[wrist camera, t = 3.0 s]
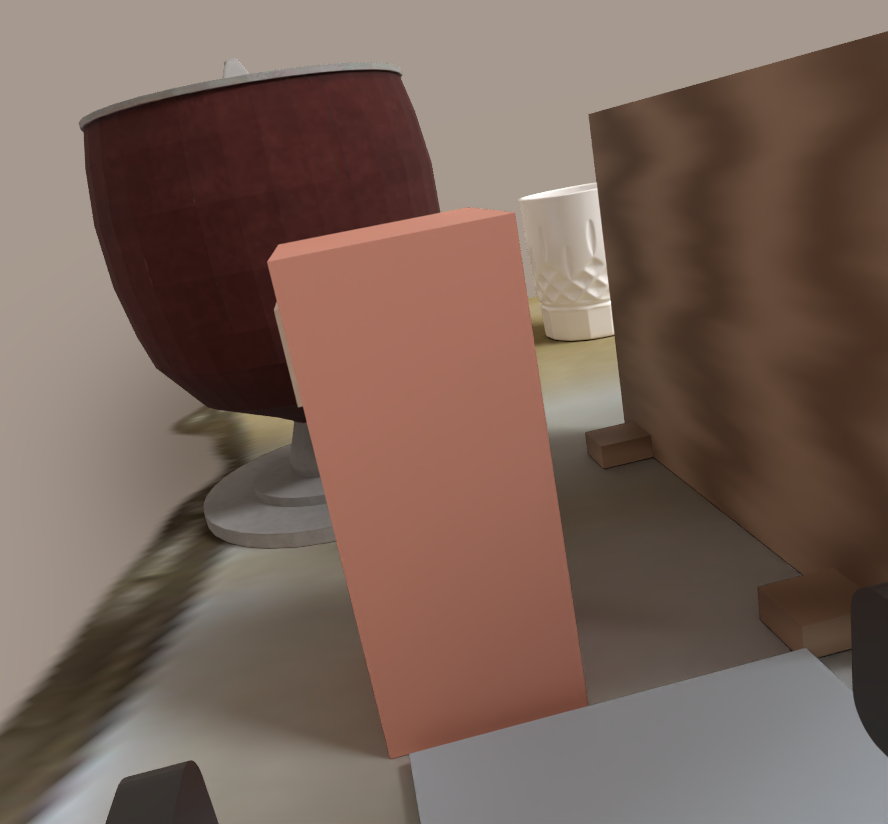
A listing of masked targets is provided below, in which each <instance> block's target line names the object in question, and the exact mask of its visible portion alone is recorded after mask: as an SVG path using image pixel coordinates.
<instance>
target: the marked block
mask: <svg viewBox="0 0 888 824" xmlns="http://www.w3.org/2000/svg"><path fill="white" fill-rule="evenodd" d="M267 263H268V267H269V271H270V276H271V280H272V284H273V288H274V292H275V296H276V300H277V302H276V305H275V308H274V313H275V317H276V321H277V325H278V329H279V333H280V337H281V341H282V345H283V349H284V353H285V357H286V361H287V365H288V369H289V373H290V377H291V381H292V385H293V389H294V393H295V397H296V401H297V405H298V407H302V406H303V409H304V413H305V417H306V421H307V425H308V429H309V433H310V437H311V441H312V445H313V449H314V453H315V457H316V461H317V465H318V469H319V473H320V477H321V481H322V485H323V489H324V493H325V497H326V501H327V506H328V510H329V514H330V518H331V522H332V526H333V530H334V534H335V538H336V542H337V546H338V550H339V554H340V558H341V562H342V566H343V570H344V574H345V578H346V582H347V586H348V590H349V594H350V598H351V602H352V606H353V610H354V614H355V619H356V623H357V627H358V631H359V635H360V639H361V643H362V647H363V651H364V655H365V659H366V663H367V667H368V671H369V675H370V679H371V683H372V687H373V691H374V695H375V699H376V703H377V707H378V711H379V715H380V719H381V723H382V727H383V731H384V736H385V740H386V744H387V748H388V752H389V756H390V759H392V758H396V757H400V756H404V755H407V754H410V753H414V752H418V751H422V750H425V749H429V748H433V747H437V746H440V745H444V744H448V743H452V742H455V741H459V740H463V739H467V738H470V737H474V736H478V735H481V734H485V733H489V732H493V731H496V730H500V729H504V728H508V727H511V726H515V725H519V724H523V723H526V722H530V721H534V720H538V719H541V718H545V717H549V716H553V715H556V714H560V713H564V712H567V711H571V710H575V709H579V708H582V707H586V706H589V705H588V699H587V692H586V685H585V679H584V672H583V665H582V659H581V652H580V645H579V638H578V632H577V625H576V618H575V612H574V605H573V598H572V592H571V585H570V578H569V571H568V565H567V558H566V551H565V545H564V538H563V531H562V525H561V518H560V511H559V504H558V498H557V491H556V484H555V478H554V471H553V464H552V458H551V451H550V444H549V437H548V431H547V424H546V417H545V411H544V404H543V397H542V391H541V384H540V377H539V370H538V364H537V357H536V350H535V344H534V337H533V330H532V324H531V317H530V310H529V303H528V297H527V290H526V284H525V277H524V270H523V263H522V257H521V250H520V243H519V236H518V230H517V224H516V216H515V213H514V212H505V211H496V210H488V209H479V208H470V207H467V208H462V209H457V210H452V211H447V212H442V213H437V214H431V215H426V216H421V217H416V218H411V219H406V220H401V221H396V222H391V223H386V224H381V225H376V226H370V227H365V228H360V229H355V230H350V231H345V232H340V233H335V234H330V235H325V236H320V237H315V238H309V239H304V240H299V241H294V242H289V243H284V244H279V245H278V246H277V248H276V249H275V251H274V252H273V254H272V255H271V257H270V258H269V260H268V261H267Z"/></svg>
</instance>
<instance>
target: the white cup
mask: <svg viewBox="0 0 888 824" xmlns="http://www.w3.org/2000/svg"><path fill="white" fill-rule="evenodd" d="M518 203H519V208H520V213H521V218H522V224H523V229H524V234H525V240H526V245H527V250H528V256H529V261H530V265H531V269H532V274H533V278H534V284H535V288H536V293H537V297H538V299H539V301H540V303H541V311H542V317H543V322H544V328H545V333H546V336H547V337H550V338H552V339H554V340H566V341H574V340H587V339H595V338H601V337H602V338H604V337H606V336H611V335H614V327H613V318H612V310H611V301H610V293H609V284H608V276H607V267H606V259H605V250H604V241H603V233H602V224H601V216H600V207H599V199H598V190H597V182H596V183H590V184H584V185H578V186H572V187H567V188H561V189H557V190H551V191H547V192H542V193H538V194H534V195H530V196H526V197H523V198H520V199H518Z"/></svg>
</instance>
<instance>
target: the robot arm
mask: <svg viewBox="0 0 888 824" xmlns="http://www.w3.org/2000/svg"><path fill="white" fill-rule="evenodd" d="M851 643H852V680H853V698H854V703H855V707H856V710H857V713H858V715H859V718H860V720H861V722H862V724H863V726H864V728H865V730H866V732H867V733H868V735H869V736H870V738H871V739H872V741H873V742H874V743H875V745H876V746H877V747H878V748H879V749H880V750H881V751H882V752H883V753H884V754H885V755H886V756H887V757H888V581H886V582H883V583H879V584H875V585H871V586H867V587H863V588H860V589H858V590H856V592H855V593H854V594H853V596H852V600H851ZM105 824H218V821H217V818H216V815H215V812H214V809H213V806H212V803H211V800H210V797H209V794H208V791H207V788H206V785H205V782H204V779H203V777H202V774H201V771H200V769H199V767H198V766H197V764H196V763H195V762H194V761H187V762H183V763H179V764H175V765H171V766H167V767H164V768H160V769H156V770H152V771H148V772H144V773H141V774H137V775H133V776H129V777H126V778H124V779H123V780H121V782H120V784H119V785H118V788H117V790H116V793H115V796H114V799H113V802H112V805H111V808H110V811H109V814H108V817H107V820H106V823H105Z"/></svg>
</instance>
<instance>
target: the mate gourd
mask: <svg viewBox="0 0 888 824" xmlns="http://www.w3.org/2000/svg"><path fill="white" fill-rule="evenodd" d="M401 76H402V72H401V69H400V68H399V67H398V66H396V65H392V64H388V63H372V62H370V63H341V64H328V65H316V66H307V67H298V68H289V69H281V70H274V71H267V72H260V73H253V74H249V72H248V71H247V70H246V69H245V68H244V66H242V64H241V63H240V62H239V61H238V60H237V59H235V58H230V59H227V60H226V61H225V62H224V72H223V79H219V80H213V81H207V82H203V83H198V84H193V85H188V86H183V87H178V88H173V89H169V90H165V91H161V92H157V93H153V94H149V95H144V96H140V97H137V98H134V99H130V100H127V101H123V102H120V103H116V104H113V105H110V106H108V107H105V108H102V109H100V110H97V111H94V112H92V113H91V114H89V115H87V116H85V117H83V118H82V119H81V120H80V122H79V126H80V129H81V130H82V131H83V132H84V147H85V148H84V149H85V169H86V175H87V181H88V188H89V194H90V200H91V207H92V213H93V220H94V226H95V229H96V233H97V236H98V239H99V242H100V245H101V248H102V252H103V255H104V258H105V262H106V265H107V268H108V271H109V274H110V278H111V281H112V284H113V287H114V290H115V292H116V294H117V296H118V298H119V300H120V302H121V304H122V306H123V308H124V311H125V313H126V315H127V317H128V319H129V321H130V323H131V325H132V327H133V329H134V331H135V334H136V336H137V338H138V339H139V341H140V342H141V344H142V346H143V347H144V349H145V350H146V352H147V354H148V356H149V357H150V359H151V360H152V362H153V363H154V365H155V367H156V368H157V369H158V370H159V371H161V372H162V373H163V374H165V375H166V376H167V377H169V378H170V379H171V380H173V381H174V382H175V383H177V384H178V385H179V386H181V387H182V388H183V389H184V390H186V391H187V392H188V393H190V394H191V395H192V396H194V397H195V398H196V399H197V400H199V401H200V402H201V403H203V404H204V405H206V406H207V407H209V408H213V409H217V410H224V411H232V412H240V413H247V414H255V415H263V416H271V417H279V418H283V419H288V420H293V421H294V430H293V438H292V444H290V445H287V446H284V447H281V448H279V449H276V450H274V451H272V452H269V453H267V454H264V455H262V456H260V457H258V458H256V459H254V460H252V461H250V462H248V463H246V464H244V465H242V466H241V467H239V468H238V469H236V470H234V471H233V472H231V473H230V474H228V475H227V476H226V477H224V478H223V479H222V480H221V481H220V482H218V483H217V484H216V485H215V486H214V487H213V489H212V490H211V491H210V492H209V493H208V495H207V497H206V499H205V502H204V504H203V508H204V515H205V518H206V521H207V525H208V528H209V529H210V530H211V531H212V532H213V534H214V535H215V536H216V537H218V538H220V539H222V540H224V541H226V542H228V543H232V544H237V545H241V546H245V547H256V548H289V547H301V546H308V545H315V544H322V543H328V542H332V541H336V538H335V534H334V530H333V526H332V522H331V518H330V514H329V510H328V506H327V501H326V497H325V493H324V489H323V485H322V481H321V477H320V473H319V469H318V465H317V461H316V457H315V453H314V449H313V445H312V441H311V437H310V433H309V429H308V425H307V421H306V417H305V413H304V409H303V406H302V407H298V405H297V401H296V397H295V393H294V389H293V385H292V381H291V377H290V373H289V369H288V365H287V361H286V357H285V353H284V349H283V345H282V341H281V337H280V333H279V329H278V325H277V321H276V317H275V313H274V308H275V305H276V302H277V300H276V296H275V292H274V288H273V284H272V280H271V276H270V271H269V267H268V263H267V261H268V260H269V258H270V257H271V255H272V254H273V252H274V251H275V249H276V248H277V246H278V245H279V244H284V243H289V242H294V241H299V240H304V239H309V238H315V237H320V236H325V235H330V234H335V233H340V232H345V231H350V230H355V229H360V228H365V227H370V226H376V225H381V224H386V223H391V222H396V221H401V220H406V219H411V218H416V217H421V216H426V215H431V214H437V213H440V208H439V203H438V197H437V191H436V186H435V181H434V174H433V169H432V163H431V160H430V157H429V153H428V151H427V148H426V144H425V141H424V138H423V135H422V132H421V129H420V126H419V123H418V119H417V116H416V113H415V110H414V108H413V106H412V104H411V101H410V99H409V97H408V94H407V92H406V89H405V87H404V85H403V83H402V80H401Z"/></svg>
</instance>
